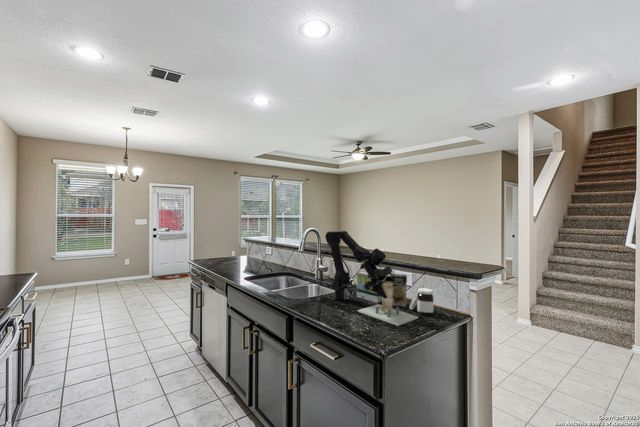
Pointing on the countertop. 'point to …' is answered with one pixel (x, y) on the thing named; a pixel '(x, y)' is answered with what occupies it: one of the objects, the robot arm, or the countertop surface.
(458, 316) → the countertop surface
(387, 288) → the birch cylinder
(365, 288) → the robot arm
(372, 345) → the countertop surface
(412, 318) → the standoff plate
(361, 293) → the tea box
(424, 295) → the spread jar
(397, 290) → the coffee box
